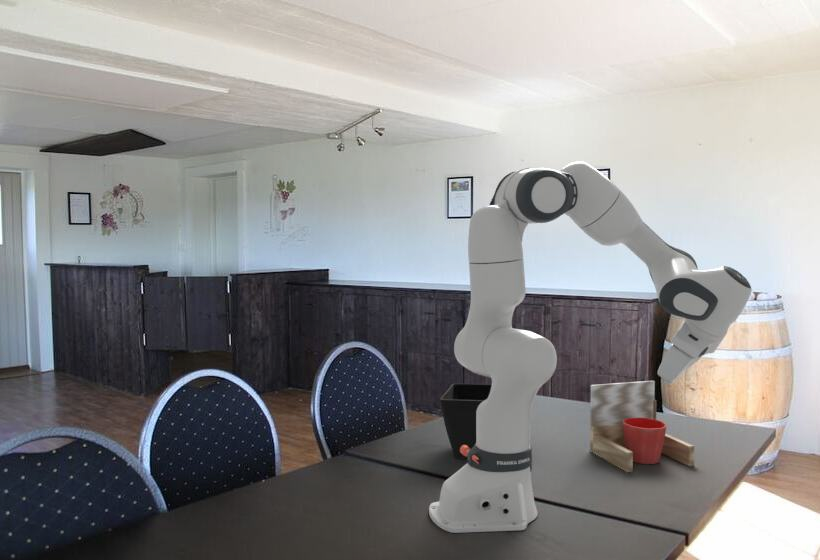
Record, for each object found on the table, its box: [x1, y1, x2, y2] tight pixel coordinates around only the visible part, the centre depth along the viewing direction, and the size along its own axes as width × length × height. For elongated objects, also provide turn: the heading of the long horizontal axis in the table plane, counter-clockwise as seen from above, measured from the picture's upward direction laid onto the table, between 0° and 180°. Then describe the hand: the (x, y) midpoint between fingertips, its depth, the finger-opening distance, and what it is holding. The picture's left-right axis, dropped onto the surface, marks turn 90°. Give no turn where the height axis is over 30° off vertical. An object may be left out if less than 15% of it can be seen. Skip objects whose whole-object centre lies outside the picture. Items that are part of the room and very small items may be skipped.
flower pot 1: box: [439, 383, 492, 461], centre depth 182 cm, size 19×19×17 cm
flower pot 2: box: [623, 418, 667, 465], centre depth 177 cm, size 11×11×10 cm
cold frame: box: [589, 380, 695, 473], centre depth 177 cm, size 19×18×18 cm
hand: (668, 382), depth 157 cm, fingers closed
